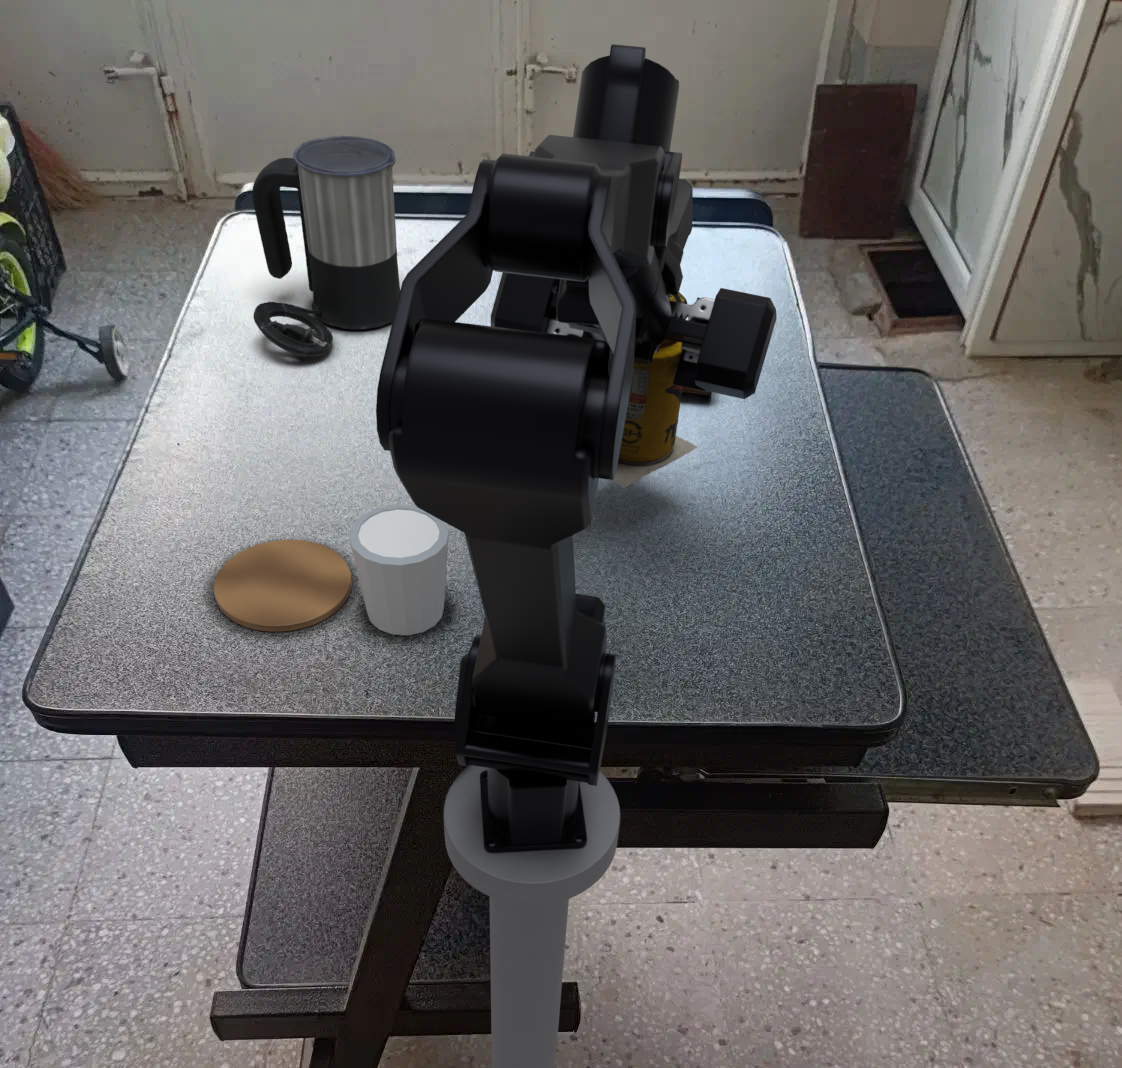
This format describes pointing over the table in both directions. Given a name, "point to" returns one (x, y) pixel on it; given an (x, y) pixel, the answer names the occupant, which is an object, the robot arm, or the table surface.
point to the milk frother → (331, 239)
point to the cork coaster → (282, 585)
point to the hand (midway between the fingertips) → (647, 363)
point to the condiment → (652, 415)
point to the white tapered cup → (401, 567)
